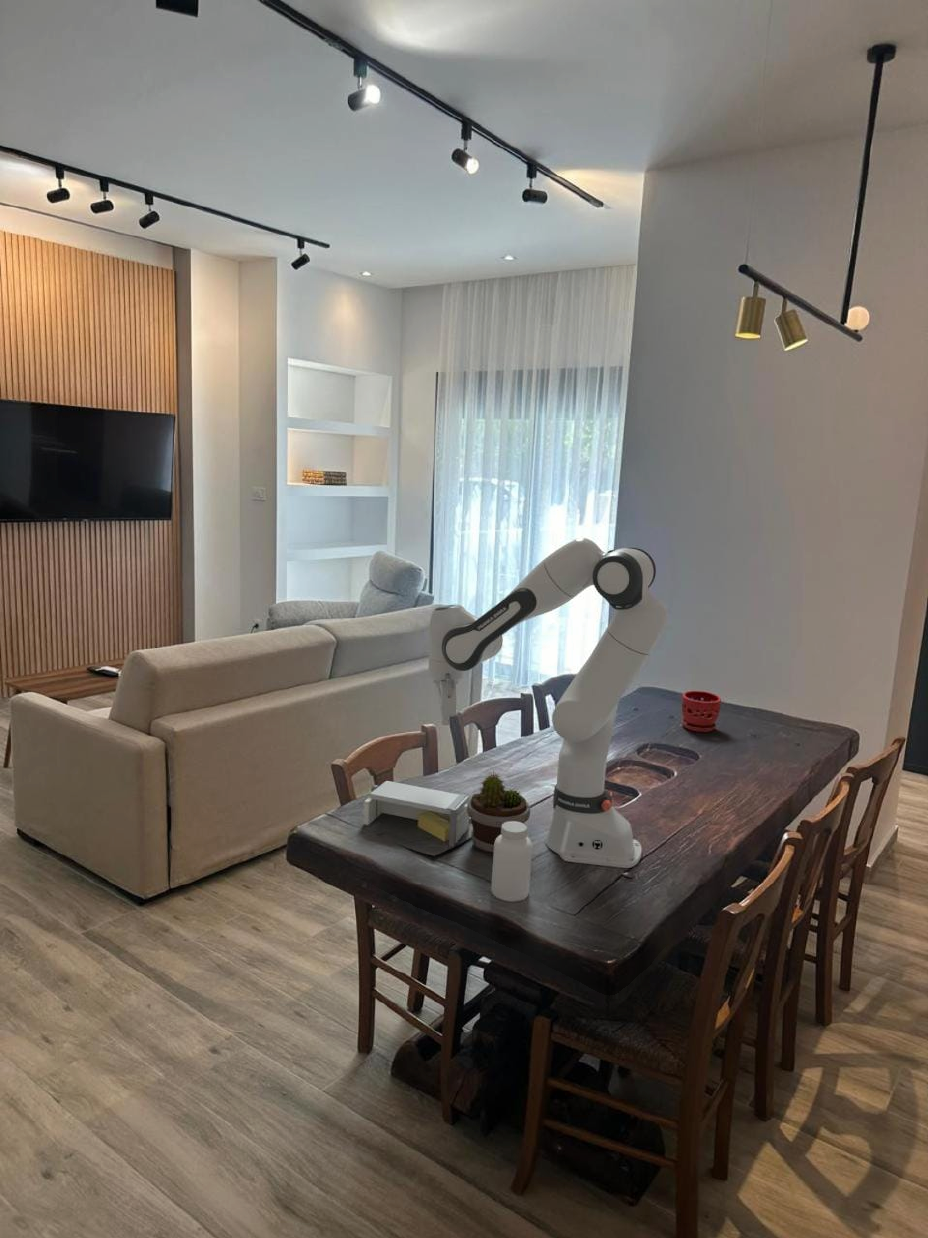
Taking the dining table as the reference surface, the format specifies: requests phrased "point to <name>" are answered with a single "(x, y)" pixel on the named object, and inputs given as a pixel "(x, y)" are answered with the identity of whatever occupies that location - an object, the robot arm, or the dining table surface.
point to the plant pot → (700, 710)
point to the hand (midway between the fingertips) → (445, 723)
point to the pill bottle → (512, 862)
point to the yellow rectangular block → (434, 825)
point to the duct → (457, 820)
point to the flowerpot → (494, 812)
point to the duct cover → (418, 797)
